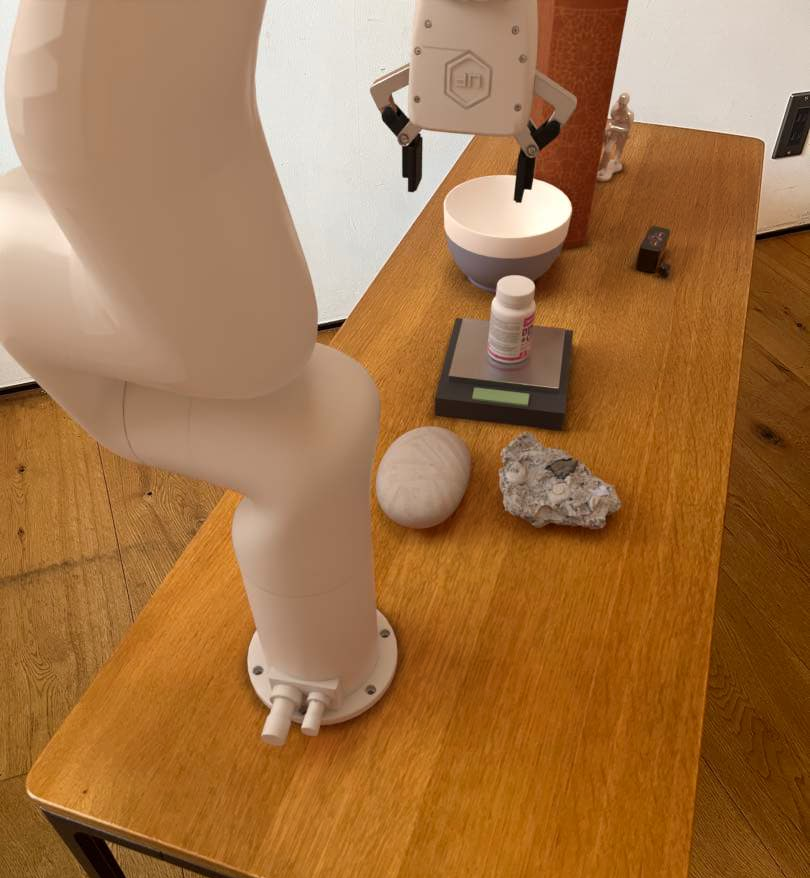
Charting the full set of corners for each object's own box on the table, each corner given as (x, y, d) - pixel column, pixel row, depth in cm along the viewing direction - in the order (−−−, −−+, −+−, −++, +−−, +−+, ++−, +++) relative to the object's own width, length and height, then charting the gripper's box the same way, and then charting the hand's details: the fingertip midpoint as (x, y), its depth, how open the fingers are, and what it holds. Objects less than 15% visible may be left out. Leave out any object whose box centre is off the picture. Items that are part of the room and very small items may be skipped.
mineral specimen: (524, 456, 83) (633, 492, 78) (477, 525, 77) (592, 568, 73) (525, 414, 79) (642, 449, 74) (475, 483, 73) (598, 526, 68)
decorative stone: (403, 441, 84) (402, 405, 80) (484, 461, 82) (487, 425, 78) (358, 527, 76) (355, 492, 72) (446, 551, 74) (448, 516, 70)
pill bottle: (527, 367, 87) (536, 300, 80) (484, 362, 87) (490, 295, 81) (531, 341, 90) (540, 275, 83) (490, 336, 90) (496, 270, 84)
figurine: (628, 164, 125) (645, 82, 115) (614, 190, 119) (631, 106, 110) (599, 159, 126) (613, 78, 117) (583, 185, 120) (598, 101, 111)
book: (517, 171, 123) (541, -64, 100) (570, 171, 123) (606, -64, 100) (526, 248, 109) (556, -6, 86) (585, 249, 108) (632, -6, 85)
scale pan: (557, 394, 85) (558, 388, 84) (448, 381, 87) (448, 375, 86) (564, 334, 92) (565, 328, 91) (462, 323, 93) (463, 317, 93)
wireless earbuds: (632, 273, 105) (637, 250, 102) (645, 247, 109) (651, 225, 106) (666, 281, 103) (673, 258, 101) (679, 254, 107) (685, 232, 105)
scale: (561, 431, 85) (565, 411, 83) (434, 415, 87) (434, 395, 85) (570, 347, 94) (573, 328, 92) (454, 335, 96) (455, 315, 94)
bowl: (547, 318, 98) (557, 247, 91) (425, 295, 102) (426, 225, 94) (571, 253, 108) (583, 184, 100) (460, 235, 111) (463, 167, 104)
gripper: (355, -29, 57) (364, 200, 70) (593, -15, 55) (558, 220, 68) (378, -55, 62) (383, 164, 75) (599, -43, 60) (565, 181, 73)
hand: (466, 190), depth 72 cm, fingers open, 9 cm apart
